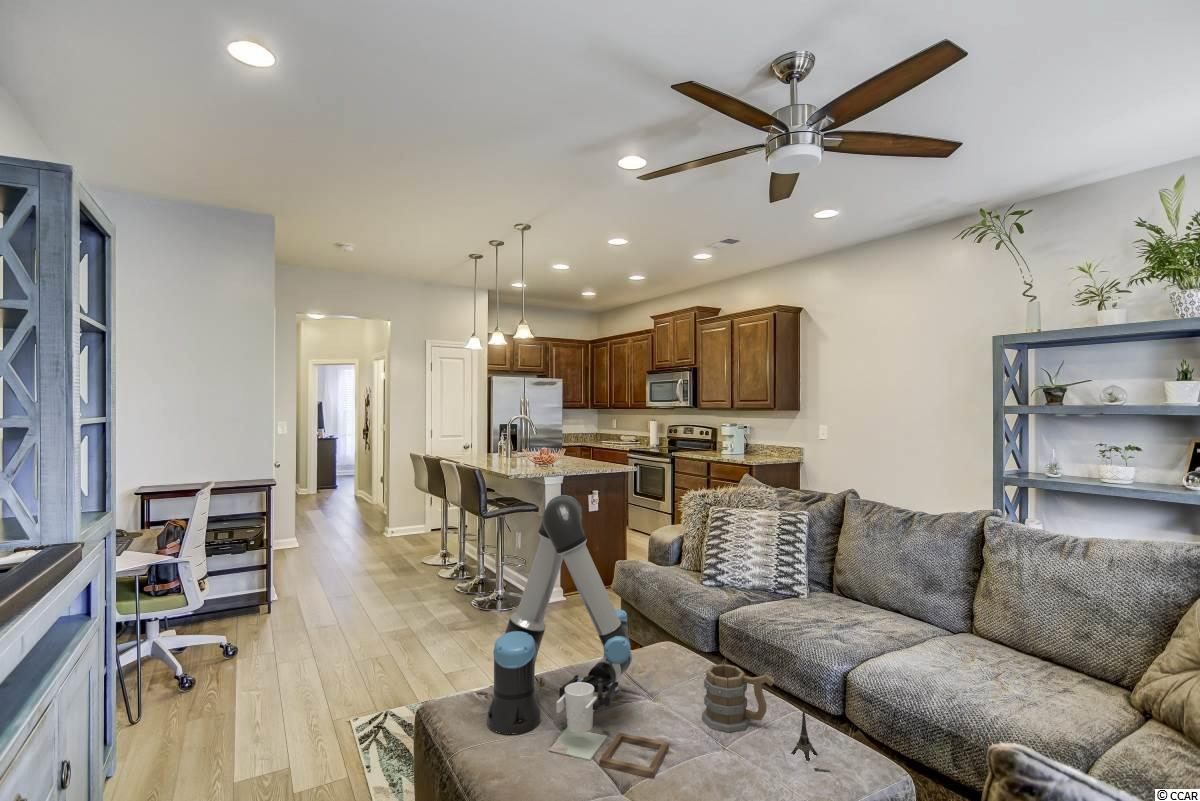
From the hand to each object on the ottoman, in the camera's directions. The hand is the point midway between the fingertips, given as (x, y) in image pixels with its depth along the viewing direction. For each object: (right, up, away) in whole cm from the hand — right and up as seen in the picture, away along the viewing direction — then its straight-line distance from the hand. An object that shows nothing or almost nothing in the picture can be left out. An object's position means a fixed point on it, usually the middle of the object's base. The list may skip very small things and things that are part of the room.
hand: (571, 710), depth 151 cm
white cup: (+2, -7, +4) cm, 8 cm away
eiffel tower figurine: (+60, -12, -1) cm, 61 cm away
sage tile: (+1, -11, +4) cm, 12 cm away
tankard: (+47, -12, +15) cm, 51 cm away
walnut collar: (+16, -11, -2) cm, 20 cm away
